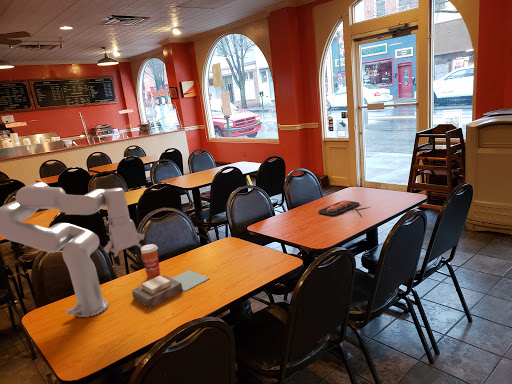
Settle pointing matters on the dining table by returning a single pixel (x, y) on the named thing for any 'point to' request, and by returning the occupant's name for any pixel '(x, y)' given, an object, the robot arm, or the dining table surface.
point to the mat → (190, 279)
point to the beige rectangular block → (156, 284)
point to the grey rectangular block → (157, 293)
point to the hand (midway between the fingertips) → (128, 260)
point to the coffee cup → (150, 260)
